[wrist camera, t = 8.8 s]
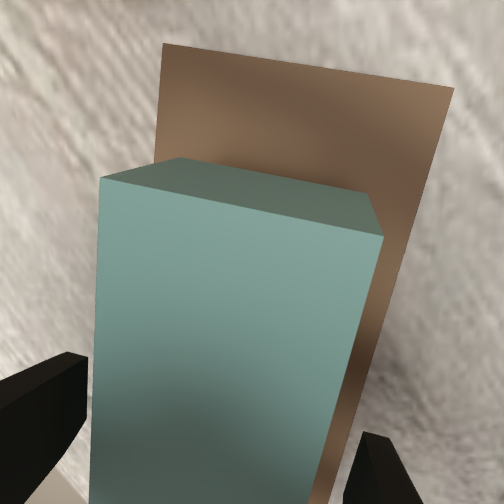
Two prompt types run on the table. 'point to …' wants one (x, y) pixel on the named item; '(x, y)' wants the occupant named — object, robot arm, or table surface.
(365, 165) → the peg rack
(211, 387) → the teal rectangular block
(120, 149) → the table surface
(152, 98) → the table surface
